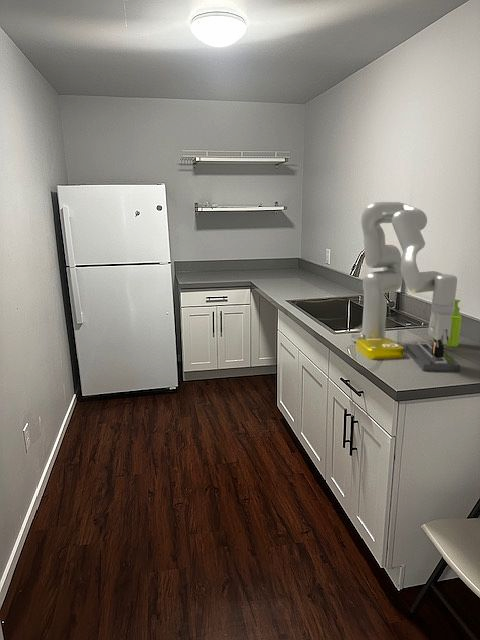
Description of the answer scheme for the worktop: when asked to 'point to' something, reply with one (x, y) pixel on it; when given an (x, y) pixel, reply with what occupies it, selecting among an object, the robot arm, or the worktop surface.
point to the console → (431, 358)
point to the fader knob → (433, 352)
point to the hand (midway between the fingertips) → (437, 355)
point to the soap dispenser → (455, 326)
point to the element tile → (379, 348)
